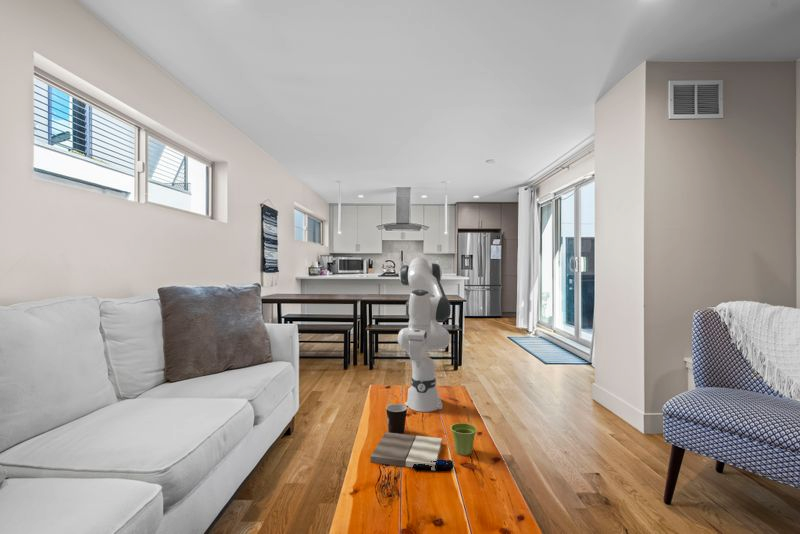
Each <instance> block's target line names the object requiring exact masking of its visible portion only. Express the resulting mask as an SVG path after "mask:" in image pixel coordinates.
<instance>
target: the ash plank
mask: <svg viewBox="0 0 800 534" xmlns="http://www.w3.org/2000/svg"><path fill="white" fill-rule="evenodd" d="M442 445H443V438H442V437H433V436H424V435H415V440H414V442H413V445H412V447H411V449H410V452H409V454H408V456H407V459H406V464H405V468H412V467H413V465H414V464H425V465H429V466H432V467H431V470H430V471H436V469H435V465H436V462H433V461H437V460H438V461H439V456H440V452H441V450H442ZM431 461H432V462H431ZM438 461H437V462H438ZM436 466H437V465H436Z"/></svg>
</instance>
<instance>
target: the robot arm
mask: <svg viewBox="0 0 800 534" xmlns="http://www.w3.org/2000/svg"><path fill="white" fill-rule="evenodd" d="M442 276H443V271H442V269H441V267H440V265H439V264H438V263H433V262H432V263H429V262H428V260H426V258H424V257H422V256H418V257H415V258H413V259H412V260H411V261H410V263H409V264H408V265H407V264H406V265H403V266H402V267H400V270H399V273H398V278H399V281H400V282H401V284H402V285H403V286H410V287H411V288H412V291H410V294H409V299H408V300H407V301H406V302H405V315H406V316H407V318H408V319H409V320H408V324H407V325H408V327H404V328H401V329H400V330H399V331H398V335H397V343H398V345H399V347H400V348H401V349H403V350H404V351H405V352H406V353H407V355H408V356H409V359H410V362H411V369H412V373H411V374H412V375H411V380H410V382H411V383H410V385H411V386H410V387H409V388H408V389H407V390H408V391H407V400H406V401H405V402H404V404H405V405H406V407H407V406H408V407H407V408H408V409H410V408H411V410H412V411H416V412H422V413H423V412H426V413H428V412H433V411H437V410H443V408H444V407H443V403H442V398H441V396H439V390H438V389H437V379H436V365H435V364H436V363H435V361H434V359H433V358H431V357H429V356H428V355H426V354H425V353H426V352H427V351H428V350H429V351H431V350H433V351H436V350H438V351H439V350H444V349H447V347H448V346H449V345H450V342H451V335H450V333H449V331H448V330H447V328H445V327H444V326H443V325H441V324H440V323H439V322H446V321H447V320H448V319H449V318H450V316H451V313H452V307H451V303H450V301H449V299H448V298H447V295H446V294H445V291H444V288H443V286H442V284H441V279H442ZM405 405H404V406H405Z"/></svg>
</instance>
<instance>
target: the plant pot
mask: <svg viewBox="0 0 800 534" xmlns="http://www.w3.org/2000/svg"><path fill="white" fill-rule="evenodd" d="M450 430H451V432H452V436H453V445H454V451H455V453H457V454H458V455H460V456H468V455H471V454H472V453H473V448H474V441H475V435H476V433H477V430H478V428H477V427H476V426H475V425H473V424H471V423H466V422H457V423H454V424H451V425H450Z"/></svg>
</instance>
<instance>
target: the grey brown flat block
mask: <svg viewBox="0 0 800 534" xmlns="http://www.w3.org/2000/svg"><path fill="white" fill-rule="evenodd" d="M415 438H416V435H414V434H406V433H404V434H398V433H389V431H388V432H387V431H386V432H385V433H384V434H383V436H382V437H381V438H380V440H379V442H378V444H377V445H376V447H375V449H374V450H373V451H372V453H371V455H370V458H369V459H370V461H369V462H370V463H375V464H381V465H391V466H397V467H406V459H407V456H408V454H409V452H410V449H411V447H412V445H413V442H414V440H415Z"/></svg>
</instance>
